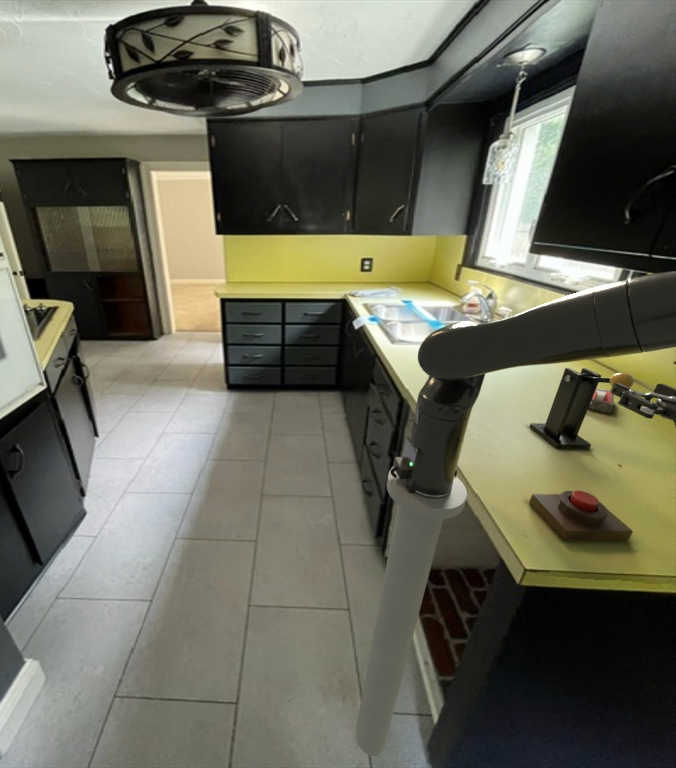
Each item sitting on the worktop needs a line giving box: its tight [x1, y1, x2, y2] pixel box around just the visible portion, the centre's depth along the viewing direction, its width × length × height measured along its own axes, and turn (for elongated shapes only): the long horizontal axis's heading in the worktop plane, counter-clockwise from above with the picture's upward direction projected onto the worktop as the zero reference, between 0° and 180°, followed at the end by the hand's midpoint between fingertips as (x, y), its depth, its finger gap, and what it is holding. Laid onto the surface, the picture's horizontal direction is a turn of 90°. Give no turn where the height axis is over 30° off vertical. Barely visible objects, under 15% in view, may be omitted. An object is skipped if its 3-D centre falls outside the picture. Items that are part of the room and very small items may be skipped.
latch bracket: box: [529, 367, 602, 450], centre depth 87 cm, size 10×8×18 cm
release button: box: [570, 490, 600, 512], centre depth 63 cm, size 4×4×2 cm
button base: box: [528, 490, 634, 542], centre depth 64 cm, size 11×9×4 cm
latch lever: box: [579, 372, 635, 388], centre depth 79 cm, size 13×4×4 cm, turn 0°
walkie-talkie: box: [588, 387, 615, 414], centre depth 105 cm, size 9×4×20 cm
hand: (635, 387), depth 71 cm, fingers open, 8 cm apart
